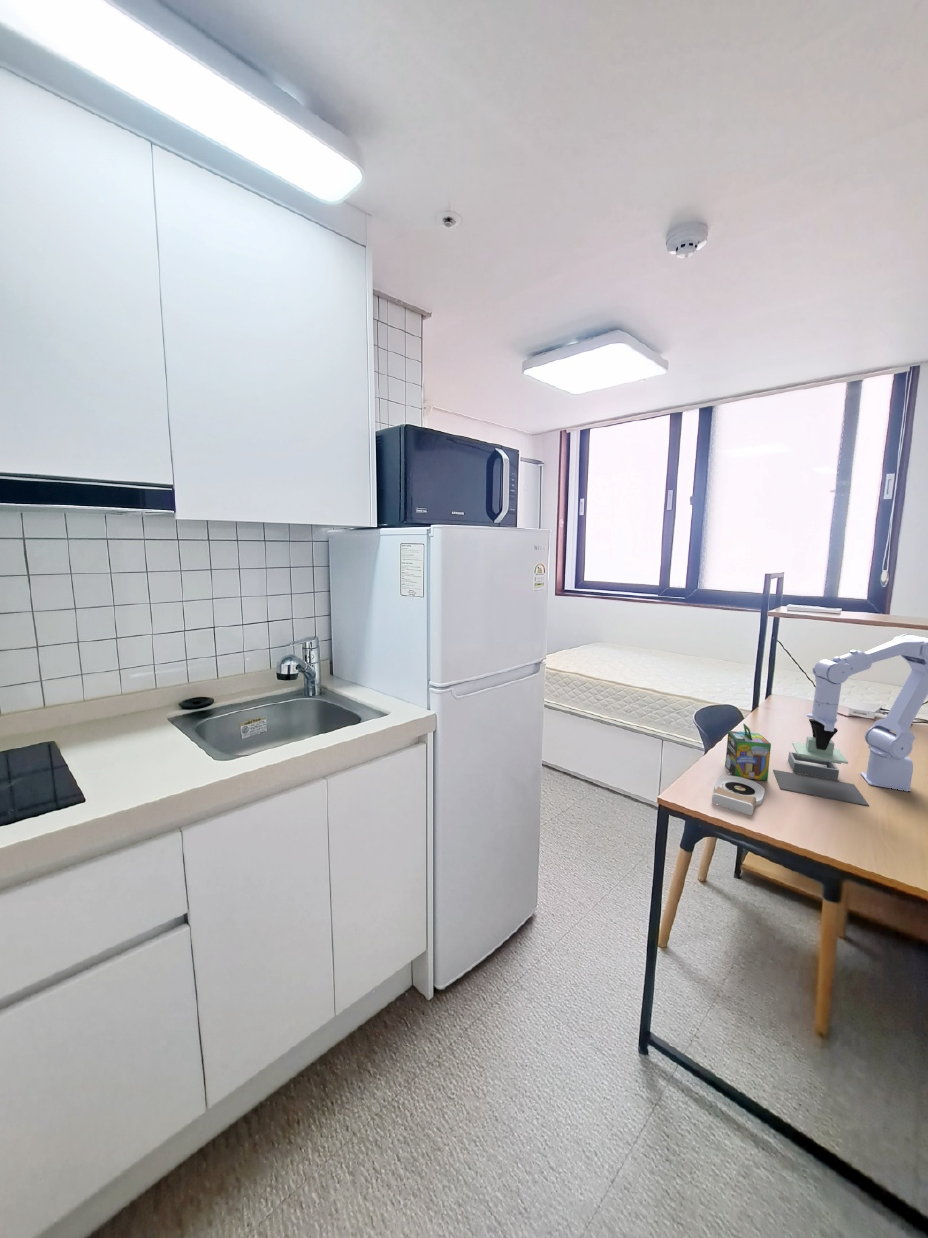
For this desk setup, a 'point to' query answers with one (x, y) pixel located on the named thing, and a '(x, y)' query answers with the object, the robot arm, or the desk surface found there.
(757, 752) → the chalk box
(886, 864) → the desk surface
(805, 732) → the desk surface
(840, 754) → the lid
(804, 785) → the rubber mat
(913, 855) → the desk surface
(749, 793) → the record player
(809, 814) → the desk surface
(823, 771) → the chalk tray box
